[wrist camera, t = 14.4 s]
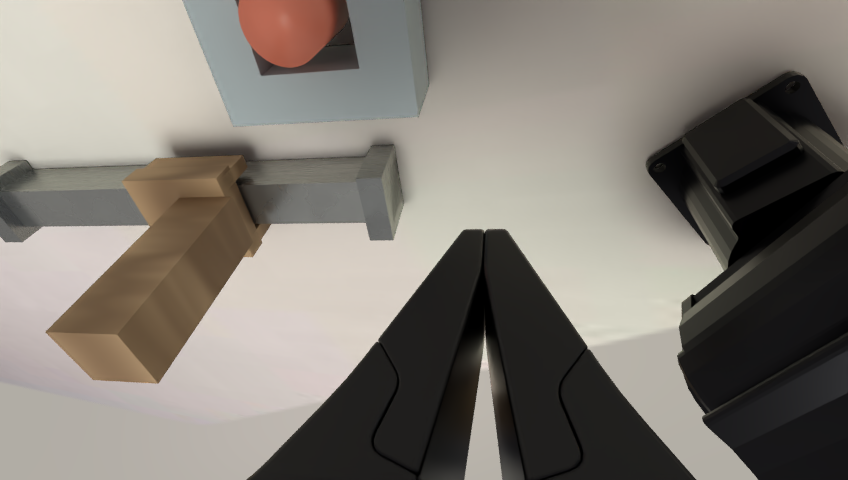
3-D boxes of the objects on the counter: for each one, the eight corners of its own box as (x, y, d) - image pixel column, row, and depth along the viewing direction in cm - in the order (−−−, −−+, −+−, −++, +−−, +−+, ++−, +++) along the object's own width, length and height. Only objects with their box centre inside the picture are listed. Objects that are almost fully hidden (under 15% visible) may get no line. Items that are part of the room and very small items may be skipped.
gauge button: (341, -46, 16) (308, -29, 13) (356, 35, 18) (330, 64, 15) (271, -37, 17) (224, -20, 14) (292, 40, 18) (255, 70, 16)
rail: (393, 144, 22) (381, 178, 20) (403, 204, 24) (393, 240, 22) (9, 161, 26) (-42, 190, 24) (47, 210, 28) (5, 242, 26)
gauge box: (405, -148, 15) (385, -154, 12) (428, 84, 20) (418, 116, 17) (190, -114, 16) (130, -113, 14) (262, 95, 21) (229, 126, 19)
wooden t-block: (248, 151, 22) (99, 314, 14) (278, 226, 25) (171, 398, 17) (153, 155, 23) (-40, 310, 15) (193, 227, 26) (52, 390, 18)
